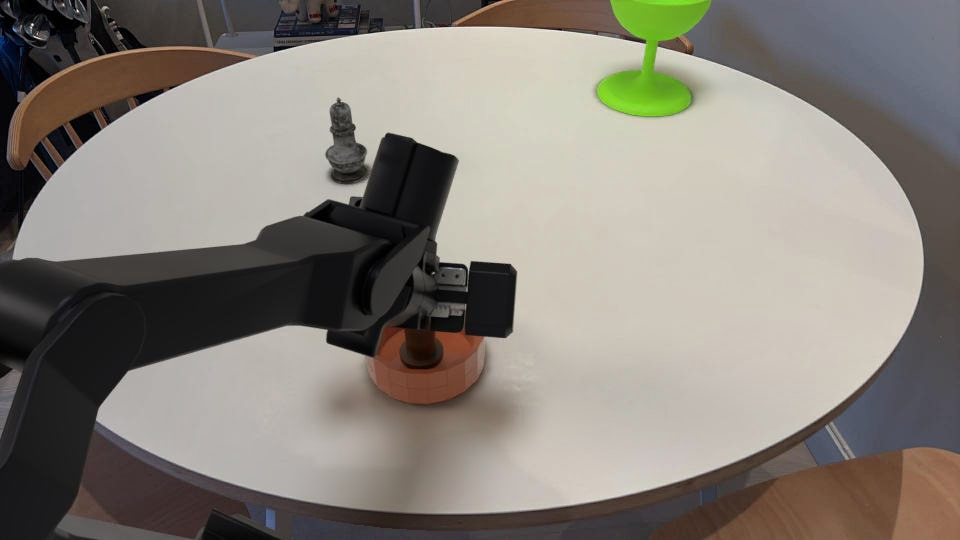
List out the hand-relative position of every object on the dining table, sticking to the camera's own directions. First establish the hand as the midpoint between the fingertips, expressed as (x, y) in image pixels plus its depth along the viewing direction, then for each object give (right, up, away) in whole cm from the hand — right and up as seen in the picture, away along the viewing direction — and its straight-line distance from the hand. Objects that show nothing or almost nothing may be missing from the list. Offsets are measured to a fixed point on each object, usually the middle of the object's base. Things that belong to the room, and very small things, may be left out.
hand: (420, 298), depth 67 cm
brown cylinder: (0, -6, +3) cm, 7 cm away
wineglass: (+34, +33, +53) cm, 71 cm away
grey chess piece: (-13, +16, +34) cm, 40 cm away
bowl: (0, -7, +6) cm, 9 cm away
